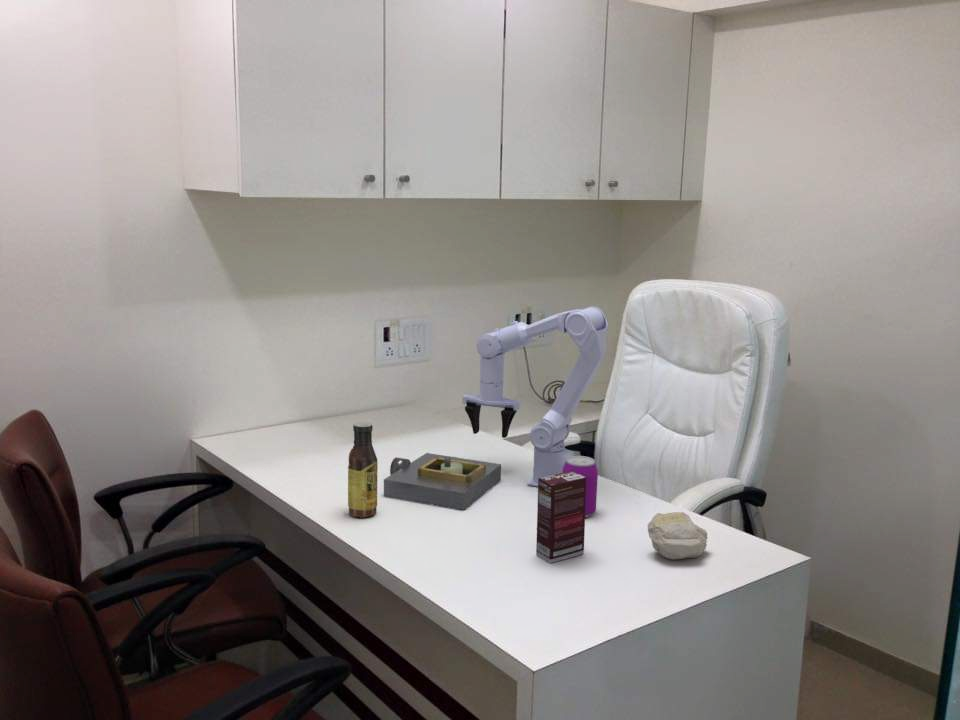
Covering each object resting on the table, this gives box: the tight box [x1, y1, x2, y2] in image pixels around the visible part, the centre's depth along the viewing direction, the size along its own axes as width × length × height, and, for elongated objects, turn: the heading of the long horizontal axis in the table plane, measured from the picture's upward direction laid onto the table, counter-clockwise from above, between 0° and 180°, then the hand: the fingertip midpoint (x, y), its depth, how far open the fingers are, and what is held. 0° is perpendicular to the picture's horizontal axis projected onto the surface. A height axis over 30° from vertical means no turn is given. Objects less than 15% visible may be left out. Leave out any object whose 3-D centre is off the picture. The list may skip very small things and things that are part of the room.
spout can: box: [441, 456, 463, 474], centre depth 202 cm, size 5×5×8 cm
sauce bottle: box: [347, 421, 379, 519], centre depth 185 cm, size 6×6×20 cm
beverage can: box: [563, 455, 599, 518], centre depth 189 cm, size 8×8×12 cm
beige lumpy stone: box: [647, 511, 708, 561], centre depth 169 cm, size 12×8×10 cm
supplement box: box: [535, 471, 586, 564], centre depth 167 cm, size 9×5×16 cm, turn 123°
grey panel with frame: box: [383, 452, 502, 511], centre depth 204 cm, size 23×22×6 cm
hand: (490, 434), depth 214 cm, fingers open, 7 cm apart
